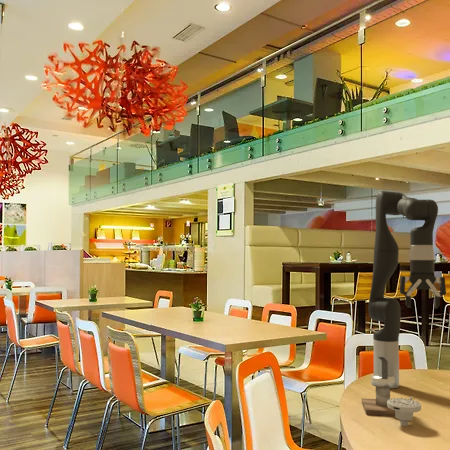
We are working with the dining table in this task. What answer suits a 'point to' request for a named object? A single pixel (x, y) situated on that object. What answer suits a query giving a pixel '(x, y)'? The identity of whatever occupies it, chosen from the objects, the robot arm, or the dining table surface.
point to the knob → (382, 375)
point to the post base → (375, 408)
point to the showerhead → (404, 409)
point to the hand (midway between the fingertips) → (422, 307)
